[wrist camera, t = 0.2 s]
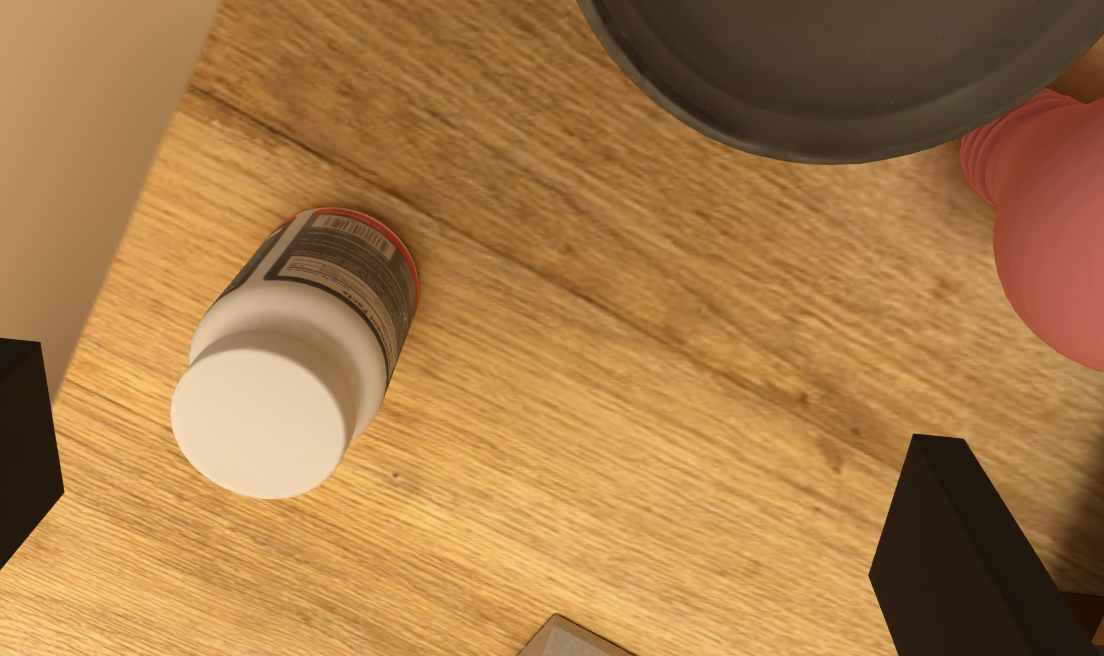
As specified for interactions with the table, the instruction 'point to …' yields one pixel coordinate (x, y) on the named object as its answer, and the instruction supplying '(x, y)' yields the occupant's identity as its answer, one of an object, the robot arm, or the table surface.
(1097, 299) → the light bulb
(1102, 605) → the walnut shelf
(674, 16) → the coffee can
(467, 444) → the table surface
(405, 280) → the pill bottle
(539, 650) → the barrier
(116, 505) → the table surface
